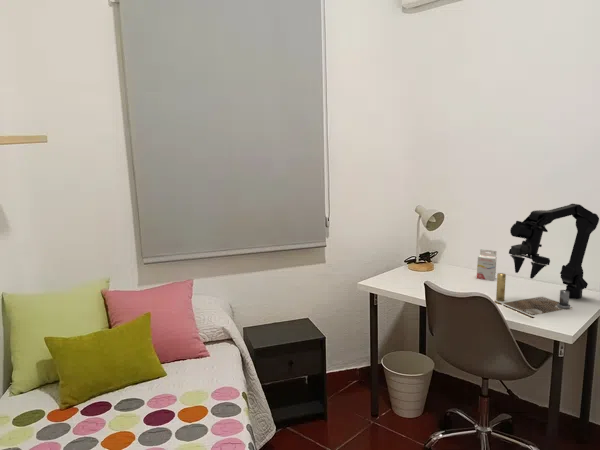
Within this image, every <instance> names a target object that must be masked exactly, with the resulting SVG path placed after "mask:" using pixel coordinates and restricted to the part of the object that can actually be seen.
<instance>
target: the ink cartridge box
mask: <svg viewBox="0 0 600 450" xmlns="http://www.w3.org/2000/svg"><path fill="white" fill-rule="evenodd" d="M479 251H480V252H479V255H478V256H477V262H476V263H477V265H476V266H477V267H476V279H478V280H486V281H487V280H488V281H494V280H495V279H496V276H497V274H496V273H497V251H496V250H492V249H490V250H489V249H479Z"/></svg>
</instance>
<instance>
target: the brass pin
mask: <svg viewBox="0 0 600 450" xmlns="http://www.w3.org/2000/svg"><path fill="white" fill-rule="evenodd" d="M496 276H497V277H496V294H495V295H496V296H495V299H496V300H493V301H494V302H493V303H495V304H497V305H502V303H501V302H504V301H505V295H506V276H507V275H506V273H501V272H498V273H497V274H496Z"/></svg>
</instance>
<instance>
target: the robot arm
mask: <svg viewBox="0 0 600 450" xmlns="http://www.w3.org/2000/svg"><path fill="white" fill-rule="evenodd" d="M569 216H572V218H574V219H575V227H576V230H577V231H576V235H575V239H574V243H573V247H572V250H571V254H570V257H569V261H568V263H566V264H565V265H562V266H561V271H560V272H559V274H560V279H561V281H562V284H563V285H566V287H565V290H567V291H569V300H572V299H573V300H580V299H581V298H582V297H583V290H585V289H587V287H588V285H589V283H588V282H587V281H586V280H585V279H584V269H583V261H584V257H585V254H586V249H587V246H588V243H589V239H590V235H591V234H592V233H593V232H594V231H595V230H596V229H597V228H598V227H597V226H598V224H599V222H600V217H599V216H598V214H597V213H593V211H591V210H589V209H587V208H585V206H583V205H581V204H578V203H570V204H567V205H564V206H561V207H556V208H552V209H548V210H545V209H544V210H543V209H539V210H532V211H531V212H530V214H529V215H528V216H527V217H526V218H525V219H523V221H521V220H516V221H515V223H514V224H512V226H511V227H510V229H509V230H510V235H511V236H512V237H515V238H520V239H525V240H522V241H521V243H520V244H519V243H518V244H514V245H511V246H510V248H509V250H508V254H509V256H510V257H511V258H512V260H513V263H514V272H515V273H516V274H518V273H519V272H520V270H521V268H522V266H523V264H524V262H525V260H526V259H529V260H531V261H530V264H531V270H530V276H529V278H530V279H531V280H532V279H534V278H536V276H537V274H539V272H540V271H541V270H542V269H544V268H545V267H547V266H550V263H551V260H550V258H549V257H546V256H543V255H540V253H538V252H539V248H542V247H543V246H542V244H541V240H542V237H543V233H548V229H547V228H546V226H547V225H550V224H551V223H553V221H555V220H558V219H563V218H566V217H569Z"/></svg>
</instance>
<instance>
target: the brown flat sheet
mask: <svg viewBox="0 0 600 450" xmlns="http://www.w3.org/2000/svg"><path fill="white" fill-rule="evenodd" d="M558 303H559V301H555V300H553V299H550V298H546V297H544V296H538V297H534V300H533V297H532V298H530V300H528V298H527V299H523V300H522V299H521V300H515V301H511V302H509V303H508V302H505V303H502V307H505V308H506V309H507V308H508V309H509V310H512V311H514V312H516V311H517V313H519V314H521V315H523V316H526V317H529V318H531V319H534V318H535V317H534V316H537V315H541V314H546V313H548V314H549V313H551V312H557V311H563V310H564V311H569V310H572V309H573V307H572V306H570V309H561V308H558V307H557V304H558Z"/></svg>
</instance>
